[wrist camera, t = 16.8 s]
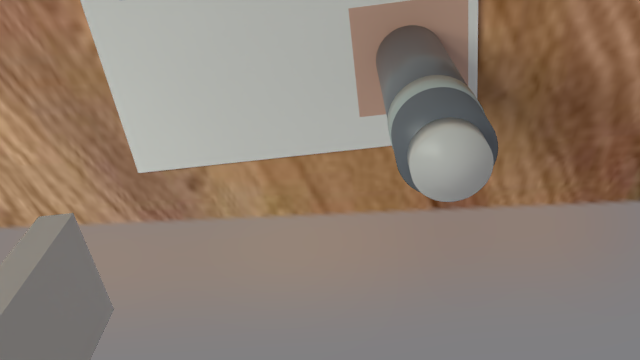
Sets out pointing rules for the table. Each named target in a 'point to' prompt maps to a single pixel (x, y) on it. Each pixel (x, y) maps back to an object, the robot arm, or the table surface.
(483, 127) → the marker
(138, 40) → the paper
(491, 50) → the table surface
